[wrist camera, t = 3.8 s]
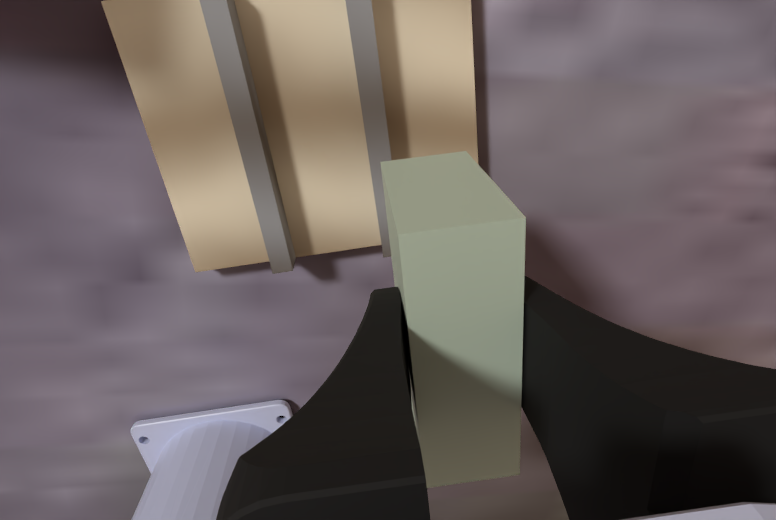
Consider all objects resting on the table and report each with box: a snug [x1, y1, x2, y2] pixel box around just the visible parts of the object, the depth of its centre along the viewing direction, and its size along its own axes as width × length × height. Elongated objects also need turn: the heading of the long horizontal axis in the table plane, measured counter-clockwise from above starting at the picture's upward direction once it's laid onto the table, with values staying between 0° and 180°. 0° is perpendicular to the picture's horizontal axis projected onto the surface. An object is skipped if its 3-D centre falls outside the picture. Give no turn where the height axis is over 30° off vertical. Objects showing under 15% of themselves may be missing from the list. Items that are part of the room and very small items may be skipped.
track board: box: [101, 0, 478, 274], centre depth 18 cm, size 10×12×2 cm
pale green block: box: [380, 151, 526, 488], centre depth 13 cm, size 7×2×5 cm, turn 6°
